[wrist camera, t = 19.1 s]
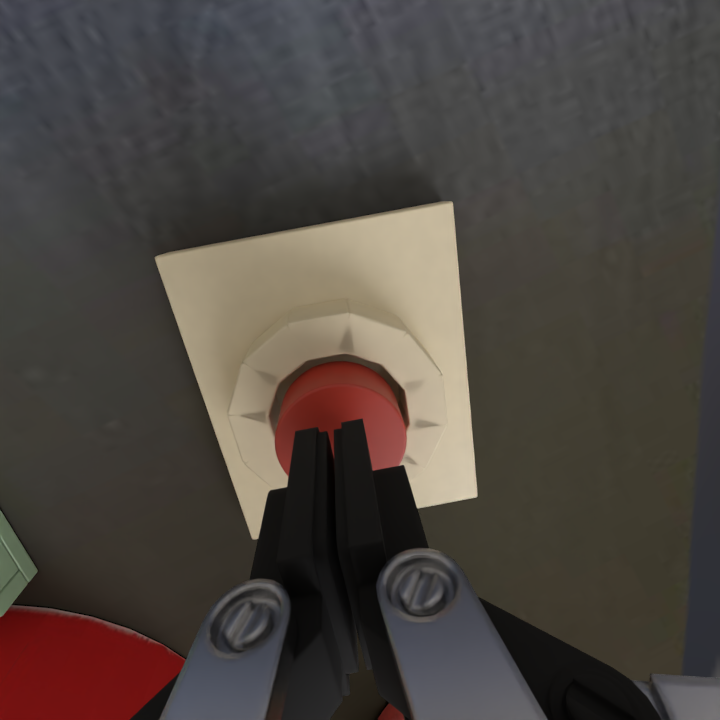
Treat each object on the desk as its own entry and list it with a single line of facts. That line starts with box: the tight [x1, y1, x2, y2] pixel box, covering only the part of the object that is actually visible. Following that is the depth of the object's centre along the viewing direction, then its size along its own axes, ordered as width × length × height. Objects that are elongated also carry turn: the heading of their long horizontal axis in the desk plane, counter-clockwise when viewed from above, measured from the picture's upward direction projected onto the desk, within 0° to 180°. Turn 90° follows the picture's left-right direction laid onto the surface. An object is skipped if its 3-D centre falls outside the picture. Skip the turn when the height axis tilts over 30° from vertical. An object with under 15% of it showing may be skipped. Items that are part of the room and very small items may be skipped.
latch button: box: [275, 361, 407, 477], centre depth 12 cm, size 4×4×2 cm
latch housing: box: [155, 201, 478, 539], centre depth 14 cm, size 11×9×3 cm
